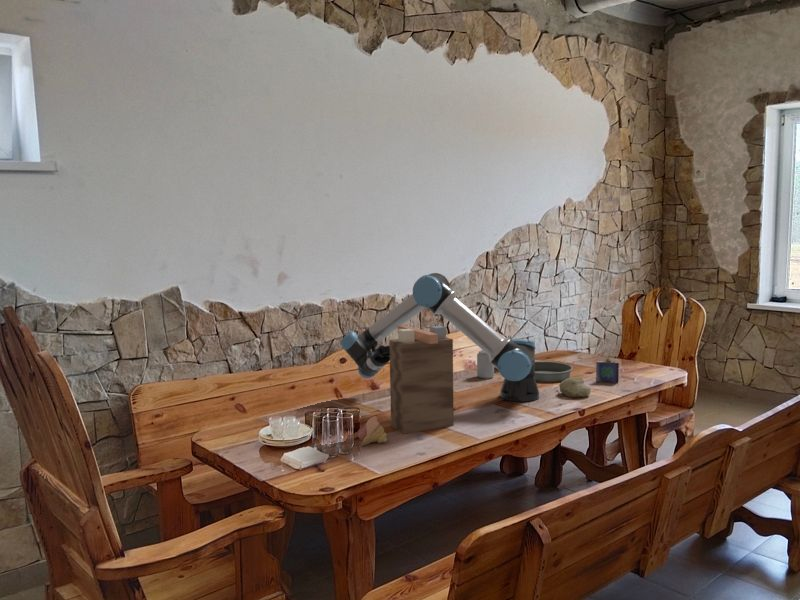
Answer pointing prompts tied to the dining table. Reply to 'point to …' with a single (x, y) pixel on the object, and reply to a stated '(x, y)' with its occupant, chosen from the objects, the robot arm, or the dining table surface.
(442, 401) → the walnut stand
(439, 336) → the slate cube
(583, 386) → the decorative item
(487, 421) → the dining table surface
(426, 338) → the terracotta stick
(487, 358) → the can
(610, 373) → the dark small block
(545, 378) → the cake pan
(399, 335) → the cream cube
